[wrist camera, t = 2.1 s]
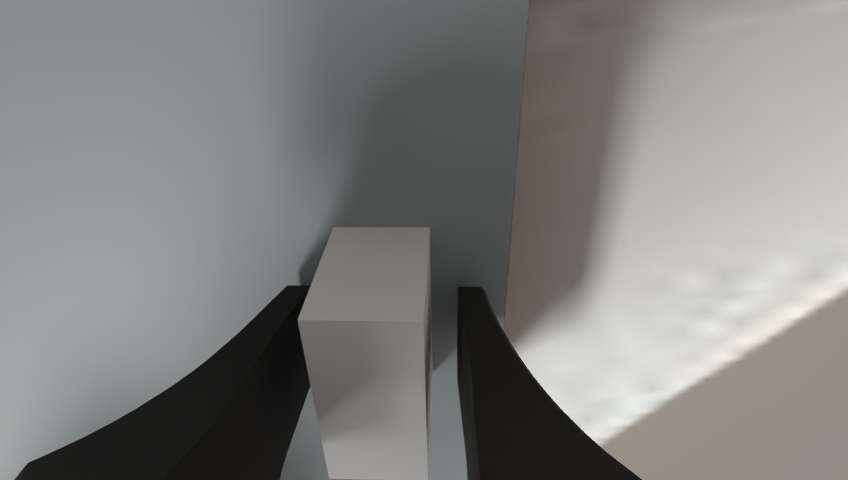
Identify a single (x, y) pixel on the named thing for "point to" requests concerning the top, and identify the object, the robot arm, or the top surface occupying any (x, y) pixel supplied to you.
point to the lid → (254, 210)
